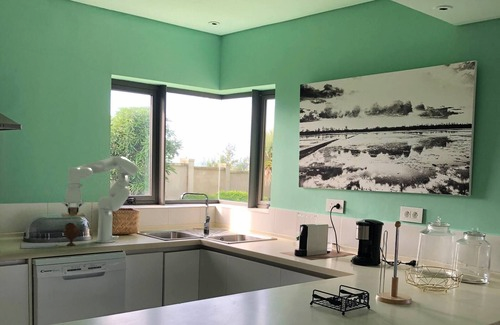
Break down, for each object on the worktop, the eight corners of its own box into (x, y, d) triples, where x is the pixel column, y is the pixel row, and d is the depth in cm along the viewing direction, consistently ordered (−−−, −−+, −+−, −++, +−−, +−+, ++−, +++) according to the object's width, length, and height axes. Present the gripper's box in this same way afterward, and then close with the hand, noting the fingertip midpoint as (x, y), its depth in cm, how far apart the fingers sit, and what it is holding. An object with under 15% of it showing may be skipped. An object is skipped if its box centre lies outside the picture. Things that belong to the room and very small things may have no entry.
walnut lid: (83, 214, 339) (83, 206, 339) (85, 216, 326) (85, 208, 326) (61, 214, 333) (61, 206, 333) (62, 216, 320) (62, 208, 320)
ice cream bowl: (76, 247, 324) (77, 224, 324) (59, 246, 324) (60, 223, 324) (82, 244, 334) (83, 222, 334) (65, 243, 334) (66, 221, 334)
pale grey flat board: (57, 243, 334) (57, 242, 334) (58, 247, 318) (58, 247, 318) (21, 244, 326) (21, 243, 326) (20, 248, 309) (20, 247, 309)
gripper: (86, 185, 336) (85, 213, 336) (60, 185, 330) (59, 213, 330) (87, 186, 329) (86, 214, 329) (60, 186, 323) (59, 214, 323)
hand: (73, 213), depth 329 cm, fingers closed on walnut lid, 4 cm apart
